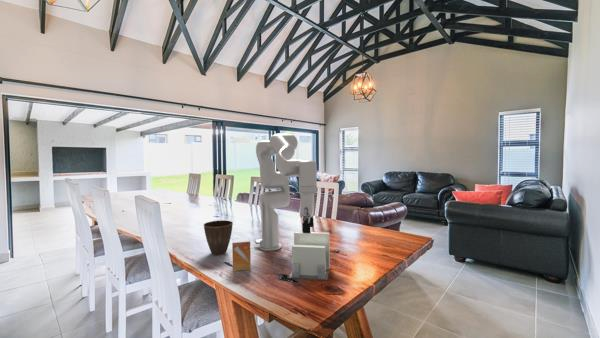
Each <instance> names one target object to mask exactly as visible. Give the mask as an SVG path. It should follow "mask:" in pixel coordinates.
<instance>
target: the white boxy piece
mask: <svg viewBox="0 0 600 338" xmlns="http://www.w3.org/2000/svg"><path fill="white" fill-rule="evenodd" d="M293 245H312V246H325V258H326V275H325V265H318V276H313V275H299V264H296V263H292V262H291V272H290V274H289V276H288V278H289V279H290V280H291V279H292V280H310V281H311V280H312V281H324V282H325V281H328V279H329V274H330V271H329V270H330V267H331V262H330V261H331V259H330V258H331V257H330V256H331V255H330V252H331V251H330V250H331V249H330V232H323V231H322V232H321V231H317V232H315V231H310V233H303V232H302V231H293Z"/></svg>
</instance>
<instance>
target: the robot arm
mask: <svg viewBox="0 0 600 338" xmlns="http://www.w3.org/2000/svg"><path fill="white" fill-rule="evenodd" d="M297 148H298V139H297V137H296V136H295V135H294V134H291V133H275V134H272V135H271V136H270V138H269V139H268V140H260V141H258V142H257V144H256V146H255V154H256V159H257V161H258V165H259V176H260V177H259V178H260V186H261V188H262V189H264V190H270V191H264V192H261V193H260V194H259V197H258V202H259V207H260V219H261V221H260V222H261V224H260V225H261V226H260V227H261V239H255V240H254V243H255V245H258V247H259V248H258V249H259V250H261V251H265V252H273V251H277V250H280V249H281V248H282V247H283V245H282V243H280V241H279V240H280V236H279V235H280V233H279V215H278V213H277V212H276V211H275V209H278V208H285V207H288V206H289V205H290V203H291V196H290V195H291V192H290V191H291V190H290V180H289V178H297V177H298V194H300V198H299V199H300V202H299V217H300V218H301V219H302V223H301V224H302V228H301V229H302V231H301V232H303V233H310V232H311V228H314V224H315V223H314V213H315V194H317V193H318V190H317V189H318V187H317V185H318V184H317V177H318V176H317V175H318V174H317V172H318V171H317V167H318V166H317V162H316V160H311V159H310V160H307V159H292V158H293V157H294V156H295V153H296V152H295V151H296V149H297ZM271 157H275V159H274V160H273V159H272V158H271ZM274 161H275V162H274ZM276 170H277V171H276ZM274 189H277V190H274ZM271 190H272V191H271Z"/></svg>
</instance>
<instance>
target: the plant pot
mask: <svg viewBox="0 0 600 338" xmlns="http://www.w3.org/2000/svg"><path fill="white" fill-rule="evenodd" d="M203 228H204V235H205V239H206V242H207V244H208V248H209V251H210V253H211V254H212V256H213V255H214V256H222V255H225V254H226V253H227V250H228V248H229V245H230V241H231V238H232V237H231V236H232V232H233V231H232V230H233V221H231V220H213V221H212V220H211V221H209V222H205V223H204V224H203Z"/></svg>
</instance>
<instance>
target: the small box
mask: <svg viewBox="0 0 600 338" xmlns="http://www.w3.org/2000/svg"><path fill="white" fill-rule="evenodd" d="M231 246H232V253H231V254H232V272H236V271H237V272H238V271H239V272H240V271H247V270H248V271H249V270H250V269H252V265H251V264H252V263H251V261H252V260H251V258H252V255H251V238H250V237H244V238H243V237H242V238H234V239H232V245H231Z"/></svg>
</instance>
